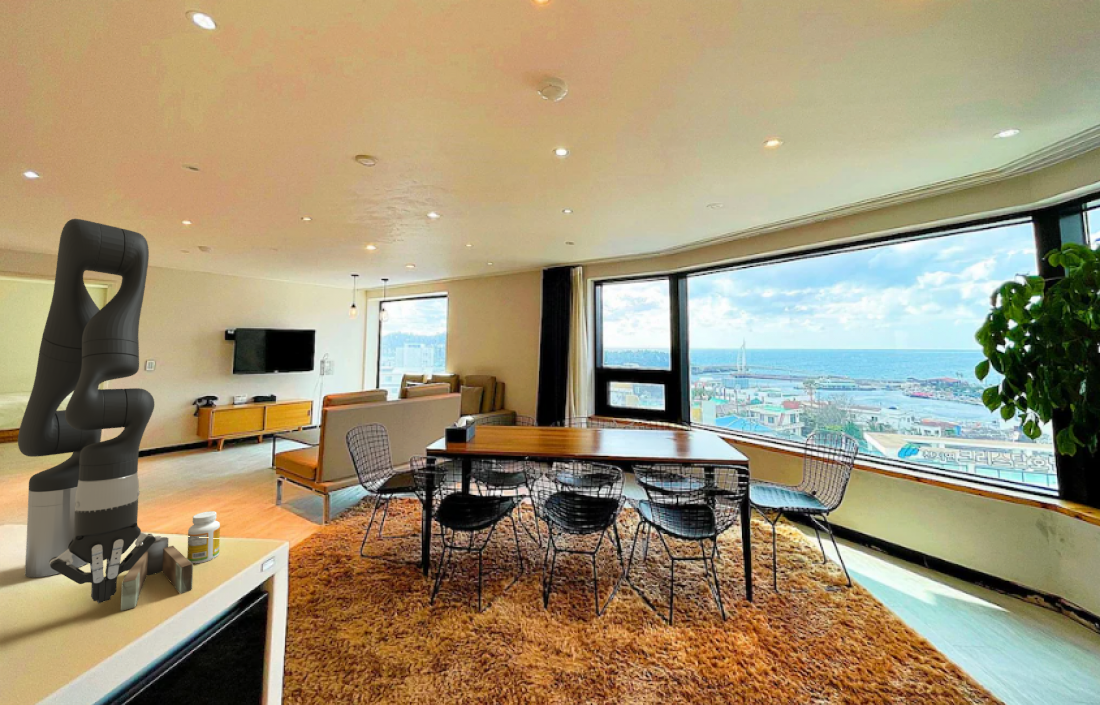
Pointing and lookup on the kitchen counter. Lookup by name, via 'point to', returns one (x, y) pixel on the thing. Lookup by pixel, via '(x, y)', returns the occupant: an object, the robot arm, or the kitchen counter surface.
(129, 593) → the tong arm
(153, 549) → the tongs frame
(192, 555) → the supplement bottle
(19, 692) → the kitchen counter surface
